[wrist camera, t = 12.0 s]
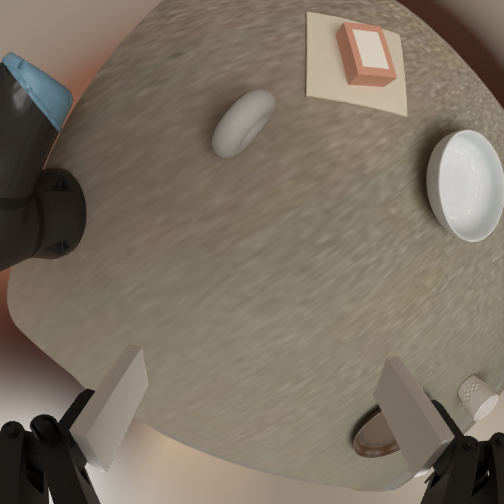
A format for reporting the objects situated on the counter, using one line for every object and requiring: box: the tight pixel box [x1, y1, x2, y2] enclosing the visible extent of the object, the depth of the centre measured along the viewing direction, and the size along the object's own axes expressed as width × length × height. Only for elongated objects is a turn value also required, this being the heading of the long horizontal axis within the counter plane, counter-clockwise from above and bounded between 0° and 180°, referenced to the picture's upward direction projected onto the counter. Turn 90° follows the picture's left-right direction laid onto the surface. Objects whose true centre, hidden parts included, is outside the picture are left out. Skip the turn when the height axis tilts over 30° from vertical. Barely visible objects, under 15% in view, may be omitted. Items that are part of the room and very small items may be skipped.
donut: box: [211, 89, 276, 158], centre depth 31 cm, size 10×3×10 cm, turn 141°
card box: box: [336, 22, 397, 87], centre depth 29 cm, size 9×6×5 cm, turn 7°
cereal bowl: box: [426, 130, 504, 242], centre depth 33 cm, size 17×17×7 cm
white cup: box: [458, 375, 499, 421], centre depth 41 cm, size 8×8×10 cm
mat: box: [306, 12, 407, 117], centre depth 32 cm, size 16×16×1 cm
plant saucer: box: [353, 397, 432, 458], centre depth 46 cm, size 21×21×3 cm
